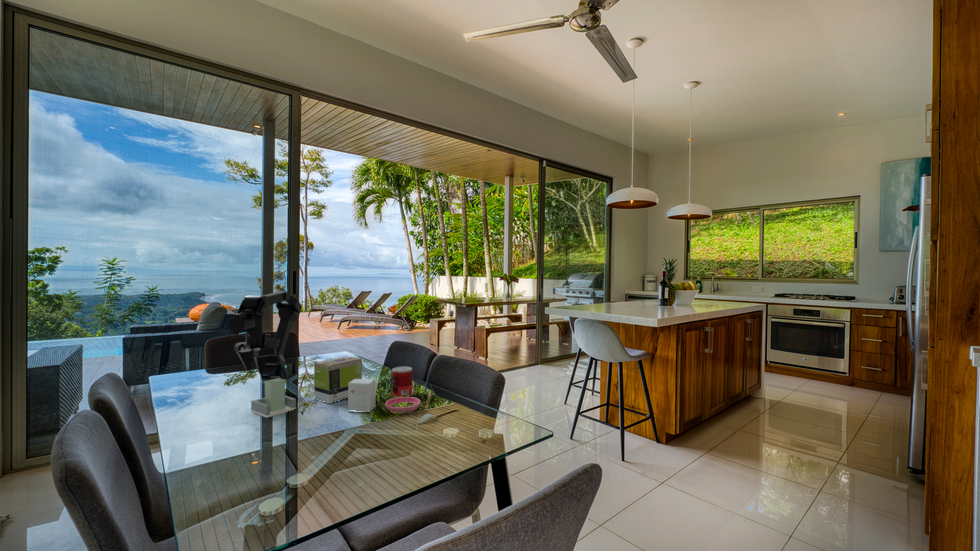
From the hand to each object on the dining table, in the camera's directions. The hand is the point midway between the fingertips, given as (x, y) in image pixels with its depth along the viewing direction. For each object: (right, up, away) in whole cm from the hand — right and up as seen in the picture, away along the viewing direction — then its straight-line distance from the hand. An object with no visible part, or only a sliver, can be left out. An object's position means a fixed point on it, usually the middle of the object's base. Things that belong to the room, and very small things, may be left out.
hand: (254, 372), depth 156 cm
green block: (+11, -11, -6) cm, 17 cm away
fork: (+69, -13, -10) cm, 71 cm away
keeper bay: (+11, -12, -6) cm, 17 cm away
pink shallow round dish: (+55, -13, -4) cm, 57 cm away
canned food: (+52, -13, +12) cm, 54 cm away
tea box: (+27, -12, +10) cm, 32 cm away
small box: (+41, -13, -5) cm, 43 cm away
